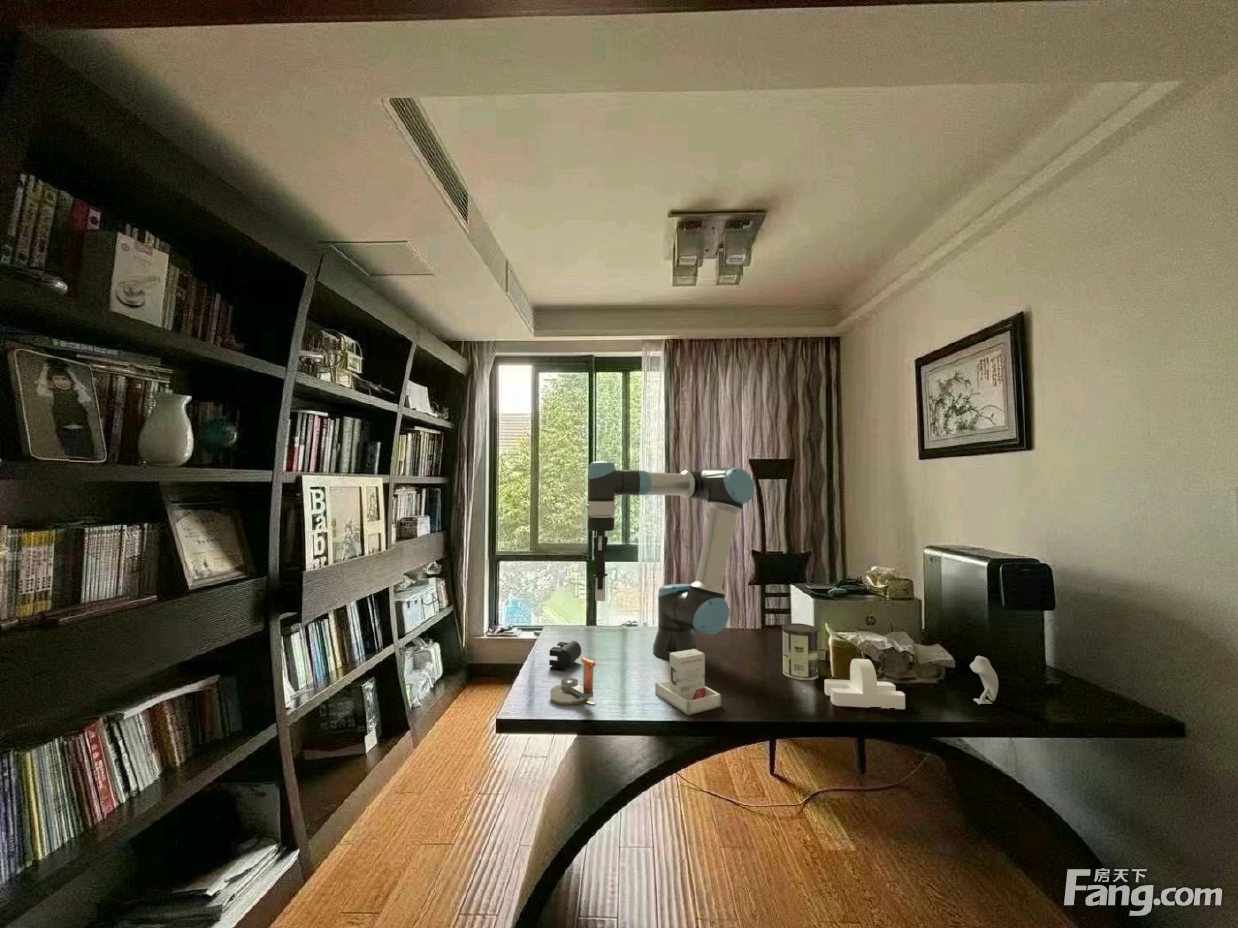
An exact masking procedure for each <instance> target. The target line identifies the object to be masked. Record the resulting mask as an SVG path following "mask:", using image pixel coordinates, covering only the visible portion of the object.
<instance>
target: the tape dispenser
mask: <svg viewBox="0 0 1238 928" xmlns="http://www.w3.org/2000/svg"><path fill="white" fill-rule="evenodd" d="M823 681H824V684H823V685H824V690H823V691H824V694H825V695H826V696H829V697H830V702H831V703H832V704H833V705H834V706H837V707H855V708H870V707H881V708H880V709H890V708H895V709H894V710H905V709H906V694H905V693H904V692H903V691H900V690H896V688H897V686H896V685H895V684H894V683H893V682H890V681H878V679H877V673H876V669H875V666H874V664H873V662H872V661H871V660H870V659H868V658H852V659H851V662H850V667H849V679H835V678H834V679H832V678H827V679H826V678H825V679H824V680H823Z"/></svg>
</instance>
